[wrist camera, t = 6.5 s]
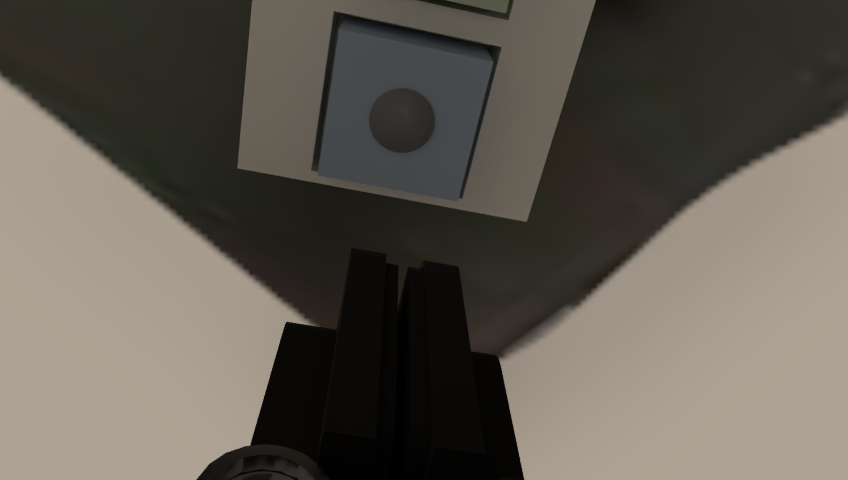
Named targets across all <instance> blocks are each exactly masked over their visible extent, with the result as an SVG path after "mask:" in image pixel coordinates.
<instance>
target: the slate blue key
mask: <svg viewBox="0 0 848 480" xmlns="http://www.w3.org/2000/svg"><path fill="white" fill-rule="evenodd" d="M492 66H493V60H492V58H491V56H490V54H489V52H488V50H487V48H486V46H484V45H479V44H475V43H470V42H465V41H461V40H456V39H451V38H447V37H442V36H438V35H433V34H428V33H424V32H419V31H414V30H410V29H405V28H400V27H396V26H391V25H386V24H382V23H377V22H372V21H368V20H363V19H358V18H354V17H349V16H346V17H345V19H344V21H343V23H342V25H341V26H340V28H339V33H338V39H337V46H336V53H335V60H334V67H333V73H332V80H331V87H330V94H329V100H328V107H327V114H326V121H325V127H324V134H323V141H322V148H321V155H320V161H319V168H318V176H324V177H329V178H335V179H340V180H345V181H351V182H356V183H361V184H367V185H372V186H377V187H383V188H388V189H393V190H399V191H404V192H409V193H415V194H420V195H425V196H431V197H436V198H442V199H447V200H452V201H458V199H459V195H460V191H461V187H462V183H463V179H464V175H465V171H466V168H467V164H468V160H469V156H470V152H471V148H472V144H473V140H474V136H475V132H476V128H477V124H478V121H479V117H480V113H481V109H482V105H483V101H484V97H485V93H486V89H487V85H488V81H489V78H490V74H491V70H492Z"/></svg>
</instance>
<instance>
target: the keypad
mask: <svg viewBox="0 0 848 480" xmlns="http://www.w3.org/2000/svg"><path fill="white" fill-rule="evenodd" d="M595 1H596V0H509V3H508V7H507V11H506V13H501V12H497V11H492V10H488V9H483V8H479V7H474V6H470V5H465V4H461V3H456V2H451V1H447V0H252V9H251V20H250V32H249V43H248V54H247V66H246V77H245V88H244V99H243V111H242V122H241V133H240V145H239V156H238V167H237V168H239V169H244V170H250V171H255V172H260V173H266V174H271V175H277V176H282V177H287V178H293V179H298V180H304V181H309V182H314V183H320V184H325V185H331V186H336V187H341V188H347V189H352V190H357V191H363V192H368V193H374V194H379V195H384V196H390V197H395V198H401V199H406V200H411V201H417V202H422V203H427V204H433V205H438V206H444V207H449V208H454V209H460V210H465V211H471V212H476V213H481V214H487V215H492V216H497V217H503V218H508V219H514V220H519V221H524V222H527V219H528V216H529V213H530V210H531V206H532V203H533V200H534V197H535V194H536V190H537V187H538V184H539V181H540V177H541V174H542V171H543V168H544V165H545V161H546V158H547V155H548V152H549V149H550V145H551V142H552V139H553V136H554V133H555V129H556V126H557V123H558V120H559V117H560V113H561V110H562V107H563V104H564V101H565V97H566V94H567V91H568V88H569V85H570V81H571V78H572V75H573V72H574V69H575V65H576V62H577V59H578V56H579V53H580V49H581V46H582V43H583V40H584V36H585V33H586V30H587V27H588V24H589V20H590V17H591V14H592V11H593V8H594V4H595ZM346 16H349V17H354V18H358V19H363V20H368V21H372V22H377V23H382V24H386V25H391V26H396V27H400V28H405V29H410V30H414V31H419V32H424V33H428V34H433V35H438V36H442V37H447V38H451V39H456V40H461V41H465V42H470V43H475V44H479V45H484V46H486V48H487V50H488V52H489V54H490V56H491V58H492V60H493V66H492V70H491V74H490V78H489V81H488V85H487V89H486V93H485V97H484V101H483V105H482V109H481V113H480V117H479V121H478V124H477V128H476V132H475V136H474V140H473V144H472V148H471V152H470V156H469V160H468V164H467V168H466V171H465V175H464V179H463V183H462V187H461V191H460V195H459V199H458V201H452V200H447V199H442V198H436V197H431V196H425V195H420V194H415V193H409V192H404V191H399V190H393V189H388V188H383V187H377V186H372V185H367V184H361V183H356V182H351V181H345V180H340V179H335V178H329V177H324V176H318V168H319V161H320V155H321V148H322V141H323V134H324V127H325V121H326V114H327V107H328V100H329V94H330V87H331V80H332V73H333V67H334V60H335V53H336V46H337V39H338V33H339V28H340V26H341V25H342V23H343V21H344V19H345V17H346Z"/></svg>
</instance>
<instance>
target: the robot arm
mask: <svg viewBox="0 0 848 480" xmlns="http://www.w3.org/2000/svg"><path fill="white" fill-rule="evenodd" d="M397 310H398V312H397ZM197 480H524V477H523V472H522V467H521V463H520V457H519V452H518V447H517V443H516V438H515V433H514V428H513V424H512V419H511V414H510V409H509V404H508V399H507V394H506V389H505V384H504V379H503V375H502V370H501V365H500V362H499V359H498V357H497V356H495V355H490V354H484V353H478V352H472V351H471V349H470V342H469V335H468V328H467V321H466V314H465V307H464V301H463V294H462V287H461V280H460V273H459V268H458V267H457V266H452V265H446V264H440V263H435V262H429V261H423V262H422V265H421V267H420V269H416V268H411V267H409V268H408V270H407V273H406V277H405V281H404V286H403V290H402V294H401V299H400V303H399V307H398V265H393V264H388V263H386V254H384V253H378V252H372V251H366V250H361V249H355V248H352V249H351V254H350V259H349V265H348V270H347V275H346V281H345V286H344V292H343V297H342V302H341V308H340V313H339V319H338V324H337V329H336V330H335V329H328V328H322V327H316V326H310V325H304V324H297V323H290V322H286V324H285V327H284V330H283V333H282V337H281V340H280V344H279V347H278V351H277V354H276V358H275V361H274V365H273V368H272V371H271V375H270V379H269V382H268V385H267V389H266V392H265V396H264V399H263V403H262V407H261V410H260V413H259V417H258V420H257V424H256V427H255V431H254V434H253V438H252V441H251V445H250V446H245V447H242V448H239V449H236V450H233V451H231V452H227V453H225V454H224V455H222V456H221V457H219V458H218V459H216V460H215V461H213V462H212V463H210V464H209V465H208V466H207V468H206V469H205V470H204V471H203V472H202V474H201V475H200V476H199V477H198V479H197Z"/></svg>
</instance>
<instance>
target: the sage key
mask: <svg viewBox="0 0 848 480" xmlns="http://www.w3.org/2000/svg"><path fill="white" fill-rule="evenodd" d="M447 1H451V2H456V3H461V4H465V5H470V6H474V7H479V8H483V9H488V10H492V11H497V12H501V13H506V11H507V7H508V3H509V0H447Z"/></svg>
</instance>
